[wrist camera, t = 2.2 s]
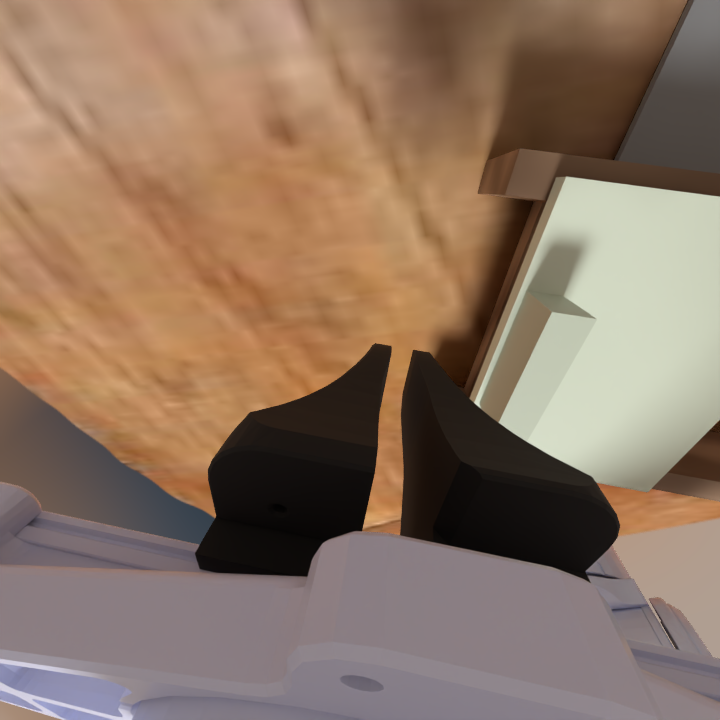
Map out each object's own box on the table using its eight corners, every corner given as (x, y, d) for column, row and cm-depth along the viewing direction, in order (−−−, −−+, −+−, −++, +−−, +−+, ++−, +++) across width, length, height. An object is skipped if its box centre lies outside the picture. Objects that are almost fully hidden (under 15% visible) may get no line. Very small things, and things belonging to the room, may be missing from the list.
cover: (637, 480, 17) (683, 537, 15) (451, 445, 18) (459, 492, 15) (880, 220, 10) (1063, 232, 7) (556, 177, 11) (608, 172, 8)
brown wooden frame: (794, 463, 22) (894, 534, 17) (420, 396, 23) (423, 445, 19) (1085, 238, 14) (1414, 262, 9) (487, 160, 15) (520, 148, 11)
